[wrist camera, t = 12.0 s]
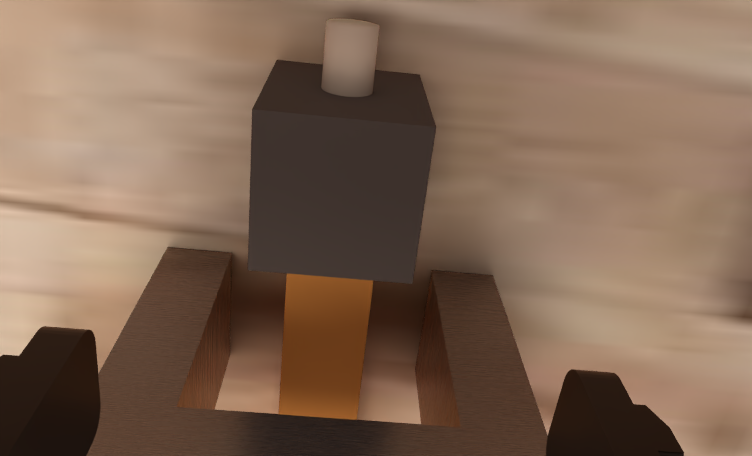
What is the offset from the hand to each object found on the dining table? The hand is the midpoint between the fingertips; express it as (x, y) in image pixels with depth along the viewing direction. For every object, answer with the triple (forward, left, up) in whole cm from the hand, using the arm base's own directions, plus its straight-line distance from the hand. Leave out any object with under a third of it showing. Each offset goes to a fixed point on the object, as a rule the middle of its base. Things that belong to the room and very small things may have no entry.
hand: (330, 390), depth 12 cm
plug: (-8, 0, -15) cm, 17 cm away
